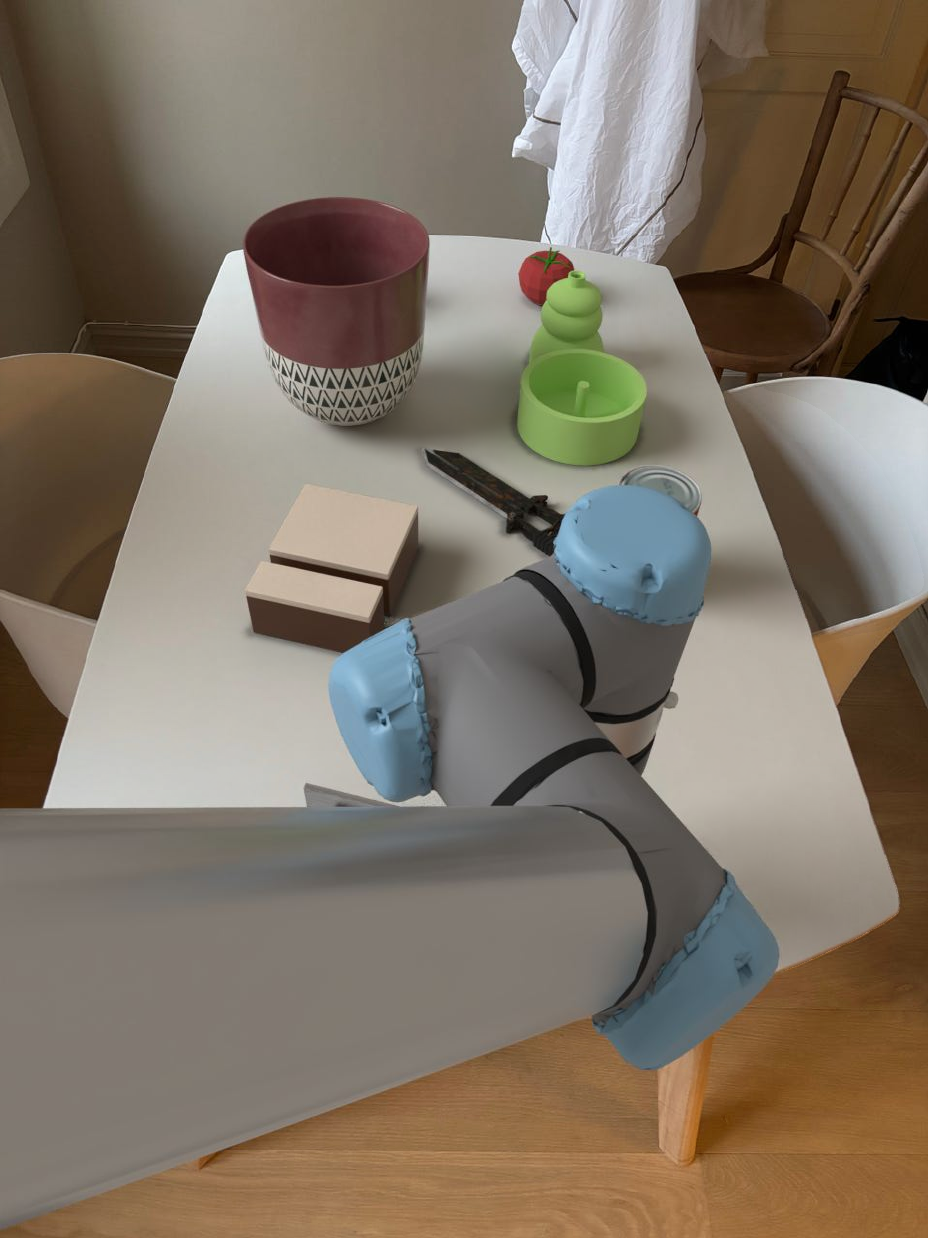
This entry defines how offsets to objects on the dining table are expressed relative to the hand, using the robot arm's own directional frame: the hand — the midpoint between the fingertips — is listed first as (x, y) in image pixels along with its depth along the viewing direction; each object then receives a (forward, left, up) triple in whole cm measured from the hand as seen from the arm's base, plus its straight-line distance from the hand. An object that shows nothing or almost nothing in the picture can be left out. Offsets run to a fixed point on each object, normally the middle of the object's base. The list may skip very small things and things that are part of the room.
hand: (552, 889), depth 73 cm
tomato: (+87, +18, -1) cm, 89 cm away
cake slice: (+20, +27, -1) cm, 34 cm away
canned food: (+36, -2, -1) cm, 36 cm away
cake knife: (0, +8, 0) cm, 8 cm away
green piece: (+65, +10, -1) cm, 65 cm away
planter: (+55, +36, -1) cm, 66 cm away
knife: (+43, +14, -1) cm, 45 cm away
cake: (+29, +27, -1) cm, 40 cm away
